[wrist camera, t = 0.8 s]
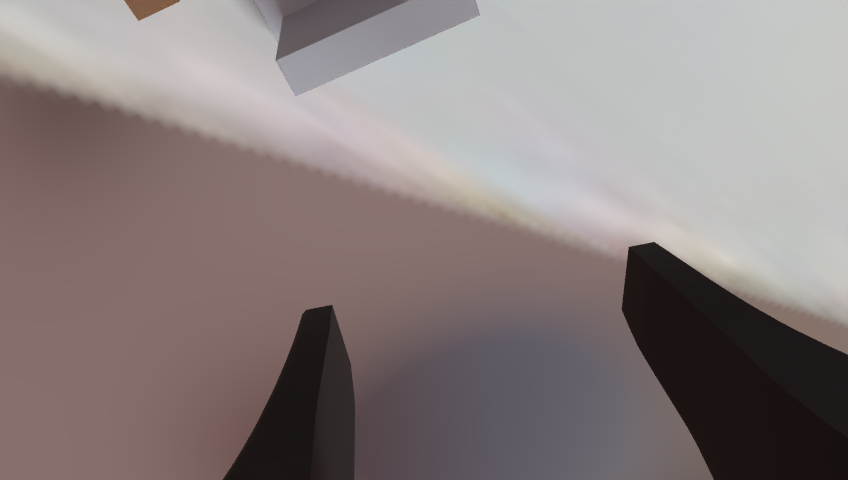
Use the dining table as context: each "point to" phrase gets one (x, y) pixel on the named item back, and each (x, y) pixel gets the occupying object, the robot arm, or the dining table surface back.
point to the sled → (351, 33)
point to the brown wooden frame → (148, 6)
